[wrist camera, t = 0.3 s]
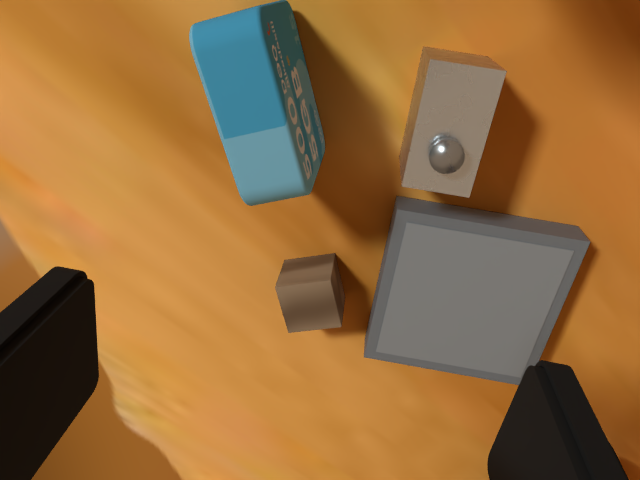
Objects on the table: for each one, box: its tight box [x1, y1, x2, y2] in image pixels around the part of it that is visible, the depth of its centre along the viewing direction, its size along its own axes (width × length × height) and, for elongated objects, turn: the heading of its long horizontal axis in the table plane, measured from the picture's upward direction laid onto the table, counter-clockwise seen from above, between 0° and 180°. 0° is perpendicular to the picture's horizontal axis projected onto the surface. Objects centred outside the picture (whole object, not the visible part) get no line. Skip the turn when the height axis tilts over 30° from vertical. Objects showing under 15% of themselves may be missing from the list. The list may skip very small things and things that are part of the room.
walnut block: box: [275, 253, 345, 333], centre depth 48 cm, size 5×5×5 cm
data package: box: [189, 0, 325, 206], centre depth 37 cm, size 12×4×12 cm, turn 14°
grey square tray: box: [364, 196, 590, 385], centre depth 48 cm, size 16×16×3 cm
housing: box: [399, 46, 507, 198], centre depth 38 cm, size 9×5×8 cm, turn 172°
